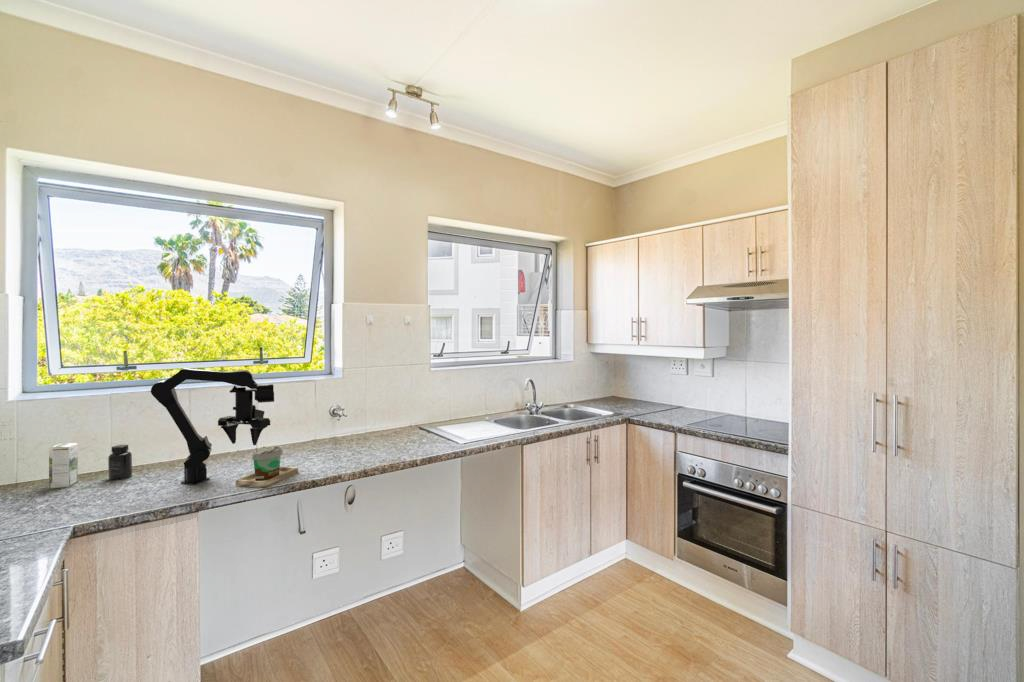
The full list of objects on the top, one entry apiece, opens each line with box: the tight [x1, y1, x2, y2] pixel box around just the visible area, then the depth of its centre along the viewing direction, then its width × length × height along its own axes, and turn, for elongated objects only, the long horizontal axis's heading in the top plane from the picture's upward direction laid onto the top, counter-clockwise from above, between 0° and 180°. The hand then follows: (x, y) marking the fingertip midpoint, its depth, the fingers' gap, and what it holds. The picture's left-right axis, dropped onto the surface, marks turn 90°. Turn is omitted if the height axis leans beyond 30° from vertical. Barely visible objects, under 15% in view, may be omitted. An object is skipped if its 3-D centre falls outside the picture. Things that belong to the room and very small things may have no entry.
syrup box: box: [48, 442, 79, 489], centre depth 166 cm, size 6×6×14 cm
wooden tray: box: [235, 465, 299, 489], centre depth 174 cm, size 12×18×2 cm, turn 169°
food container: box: [252, 445, 283, 481], centre depth 174 cm, size 12×6×10 cm, turn 169°
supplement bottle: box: [107, 444, 133, 481], centre depth 175 cm, size 7×7×12 cm
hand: (244, 444), depth 178 cm, fingers open, 9 cm apart
